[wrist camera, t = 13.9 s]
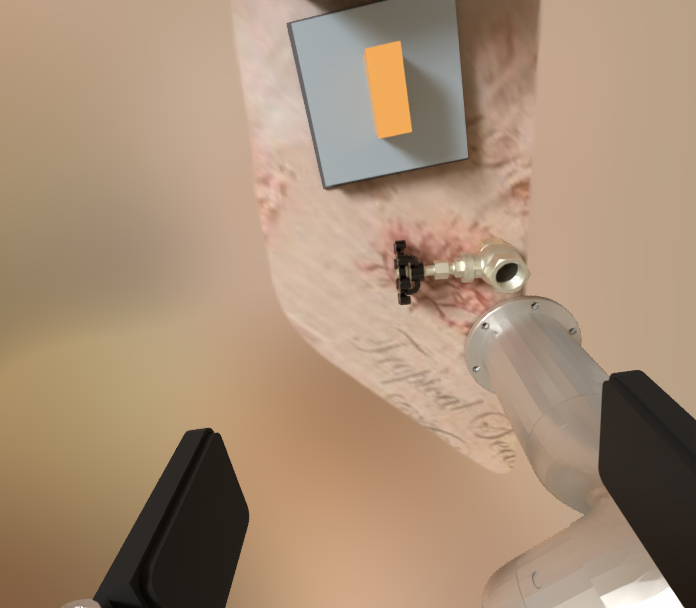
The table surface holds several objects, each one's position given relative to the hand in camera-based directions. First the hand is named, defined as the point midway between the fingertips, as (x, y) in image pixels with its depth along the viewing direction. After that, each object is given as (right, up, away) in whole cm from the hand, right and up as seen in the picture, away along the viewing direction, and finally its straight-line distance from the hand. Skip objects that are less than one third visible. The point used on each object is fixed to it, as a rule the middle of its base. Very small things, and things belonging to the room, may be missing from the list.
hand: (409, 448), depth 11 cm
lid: (+2, +22, +28) cm, 36 cm away
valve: (+9, +9, +35) cm, 37 cm away
